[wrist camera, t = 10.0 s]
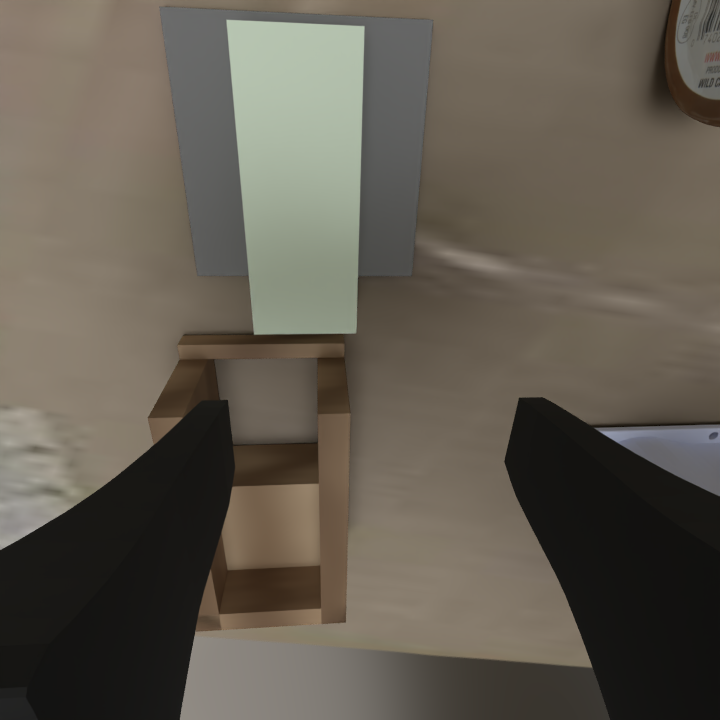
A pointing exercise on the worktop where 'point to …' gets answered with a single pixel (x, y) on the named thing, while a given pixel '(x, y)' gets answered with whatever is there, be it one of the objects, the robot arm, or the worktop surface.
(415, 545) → the worktop surface
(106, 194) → the worktop surface
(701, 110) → the tin
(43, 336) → the worktop surface
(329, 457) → the pocket block
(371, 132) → the mat
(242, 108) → the sage bar
